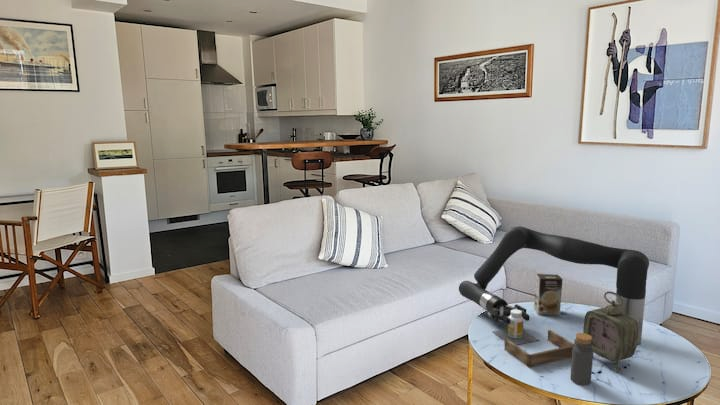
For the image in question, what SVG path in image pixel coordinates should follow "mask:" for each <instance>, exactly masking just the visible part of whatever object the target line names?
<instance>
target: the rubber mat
mask: <svg viewBox="0 0 720 405" xmlns="http://www.w3.org/2000/svg"><path fill="white" fill-rule="evenodd" d="M491 333H493V334H494V335H495V336H497V337H499V338H500V339H501V340H503V341H504V342H505V339H508V340H510V341H511V342H513V343H514V344H516V345H517V346H520V345H525V344H528V343H534V342H540V339H538V338H537V337H535V336H534V335H532V334H531V333H529V332H528V331H526V330H524V329H523V336H522V337H521V338H512V337H510V336H509V335H508V328H504V329H498V330H494V331H492V332H491Z"/></svg>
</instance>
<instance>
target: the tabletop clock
mask: <svg viewBox="0 0 720 405" xmlns="http://www.w3.org/2000/svg"><path fill="white" fill-rule="evenodd" d="M608 294H610V295H614V296H615V297H616V296H618V297H619V298H620V299H621V301H622V303H621V304H615V301H616V300H611V301H610V300H609V299H608V298H607V295H608ZM603 297H604V299H605V301H606V302H607V303H608V304H607V305H605V307H599V308H597V309H596V308H595V309H591V310H587V311H586V313H585V315H584V320H583V326H582V329H583V330H582V333H585V334H588V335H590V336H591V337H592V341H591V342H592V347H591V349H592V350H593V354H596V355H598V356H599V357H601V358H603V359H606V360H608V361H610V362H614V363H616V364H615V365H616V367H614V371H615V372H616V373H619V372H621V368H620V367H619V364H620V363H619V362H620V361H624V360H626V359H630V358H633V357H634V355H635V353H636V351H637V346H638V344H637V341H638V323H637V321H636V320H635V319H633V318H632V317H629V316H627V315H625V314H623V313H621V310H620V308H619V307H618V306H621V305H623V299H622V297H621V296H620V295H618V294H617V293H616V292H614V291H610V290H609V291H606V292H605V293H604V295H603Z"/></svg>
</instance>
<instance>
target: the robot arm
mask: <svg viewBox="0 0 720 405" xmlns="http://www.w3.org/2000/svg"><path fill="white" fill-rule="evenodd" d="M521 249H522V250H523V249H531V250H535V251H540V252H542V253H545V254H548V255H549V256H552V257H554V258H556V259H559V260H562V261H565V262H569V263H573V264H579V265H598V266H599V265H602V266H608V267H611V268H615V269H617V270H616V282H615V283H616V285H615V287H616V290H615V291H616V292H615V293H617V294H618V295H620V296H621V297H622V299H623V305H621V306H618V307H619V308H620V310H621V313H623V314H625V315H627V316H629V317H632V318H633V319H635V320H636V321H637V323H638V341H637V345H639V346H640V345H641V343H642V333H643V325H644V313H645V305H646V304H645V302H646V293H647V289H646V288H647V279H648V271H649V267H650V261H649V258H648V257H647V256H646V254H645V253H643V252H641V251H640V250H635V249H627V248H619V247H612V246H607V245H602V244H599V243H594V242H590V241H586V240H583V239H579V238H574V237H569V236H563V235H557V234H549V233H548V234H547V233H544V232H539V231H536V230H533V229H531V228H527V227H523V226H521V225H519V226H513V227H511V228H509V229H508V230H506V232H505V233H504V235H503V237H502V238H501V240H500V241H499V244H498V245H497V247H496V248H495V249H494V250H493V252H492V253H491V254H490V255H489V257H488V258H487V259H486V260H485V261H484V262H483V263H482V264H481V266H480V267H479V268H478V269H477V270H476V271H475V273H474V275H473V277H474V279H475V281H476V283H475V282H472V281H470V280H464V281H462V282H461V283H459V286H458V292H459V294H460V295H461V296H463V297H464V298H466V299H467V300H469V301H472V302H474V303H475V304H477V305H478V306H480V308H483V310H484V311H486V312H487V316H488V318H490V319H492V320H493V321H494V322H498V321H499V322H503V323H504V324H506V325H507V326H508V325H509V324H510V319H509V316H510V315H511V310H513V309H516V310H520V311H522V317H523V320H524V321H527V322H529V321H530V316H531V315H529V314H528V313H527V308H525V307H523V306H520V305H519V304H514V306H512V305H509V304H508V302H507V301H506V300H505V299H503V298H502V297H500V296H498V295H496V294H495V293H492V292H490V291H488V290H487V287H488V285H489V283H491V281H492V280H493V279H494V278H495V276H496V275H497V274H498V273H499V272H500V271H501V269H502V268H503V266H504V264H505V263H506V262H507V260H508V259H509V258H510V257H512V256H513V255H515V253H516V252H518V251H519V250H521ZM614 301H615V304H621V303H622V301H621V299H620V298H619V297H618V296H616V295H615V300H614Z"/></svg>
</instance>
